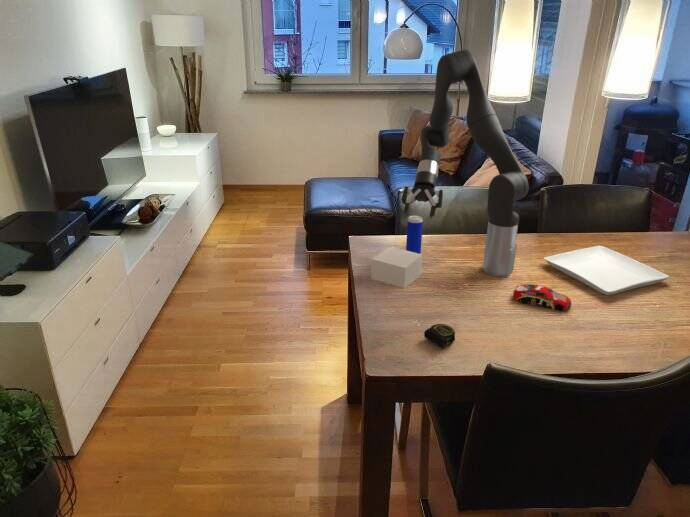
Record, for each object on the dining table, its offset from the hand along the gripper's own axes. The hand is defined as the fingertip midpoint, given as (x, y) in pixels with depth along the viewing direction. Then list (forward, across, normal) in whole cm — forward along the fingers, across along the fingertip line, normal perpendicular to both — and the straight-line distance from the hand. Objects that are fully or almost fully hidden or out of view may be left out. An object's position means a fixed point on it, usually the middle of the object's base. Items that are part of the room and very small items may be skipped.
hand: (418, 215), depth 184 cm
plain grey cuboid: (+25, -2, -6) cm, 26 cm away
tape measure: (+50, +17, -30) cm, 61 cm away
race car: (+28, +42, -8) cm, 52 cm away
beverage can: (+14, 0, +5) cm, 15 cm away
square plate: (+10, +62, +10) cm, 63 cm away
